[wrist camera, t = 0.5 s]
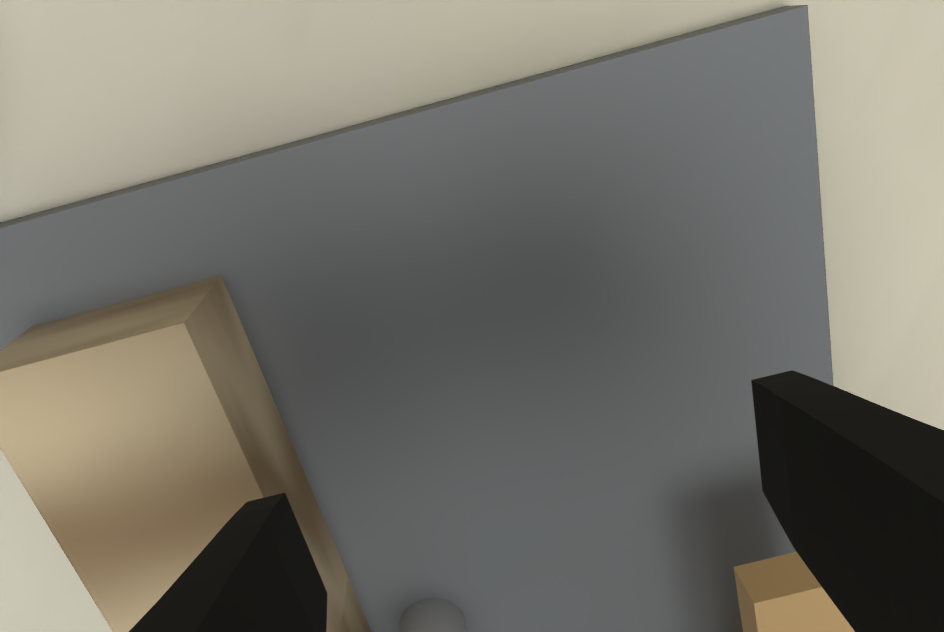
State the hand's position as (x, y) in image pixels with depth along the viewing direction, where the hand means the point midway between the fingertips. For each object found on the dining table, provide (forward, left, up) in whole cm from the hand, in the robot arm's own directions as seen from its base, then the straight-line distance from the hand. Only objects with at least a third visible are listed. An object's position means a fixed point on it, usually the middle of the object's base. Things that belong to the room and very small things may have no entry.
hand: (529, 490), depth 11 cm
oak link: (-5, +9, -8) cm, 13 cm away
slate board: (-6, +2, -9) cm, 11 cm away
